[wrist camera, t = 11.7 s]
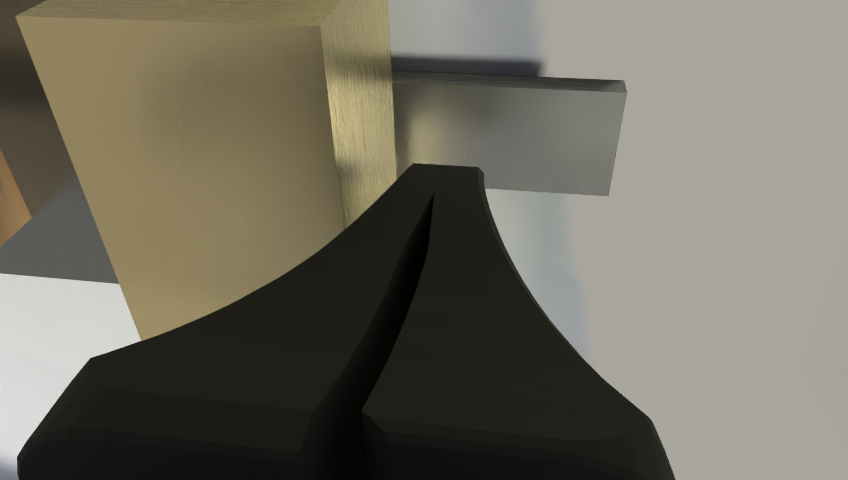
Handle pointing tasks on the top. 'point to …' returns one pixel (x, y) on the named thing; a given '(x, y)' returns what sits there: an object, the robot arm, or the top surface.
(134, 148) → the block
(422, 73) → the press bed
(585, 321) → the top surface
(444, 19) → the top surface
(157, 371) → the robot arm
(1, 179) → the housing block
